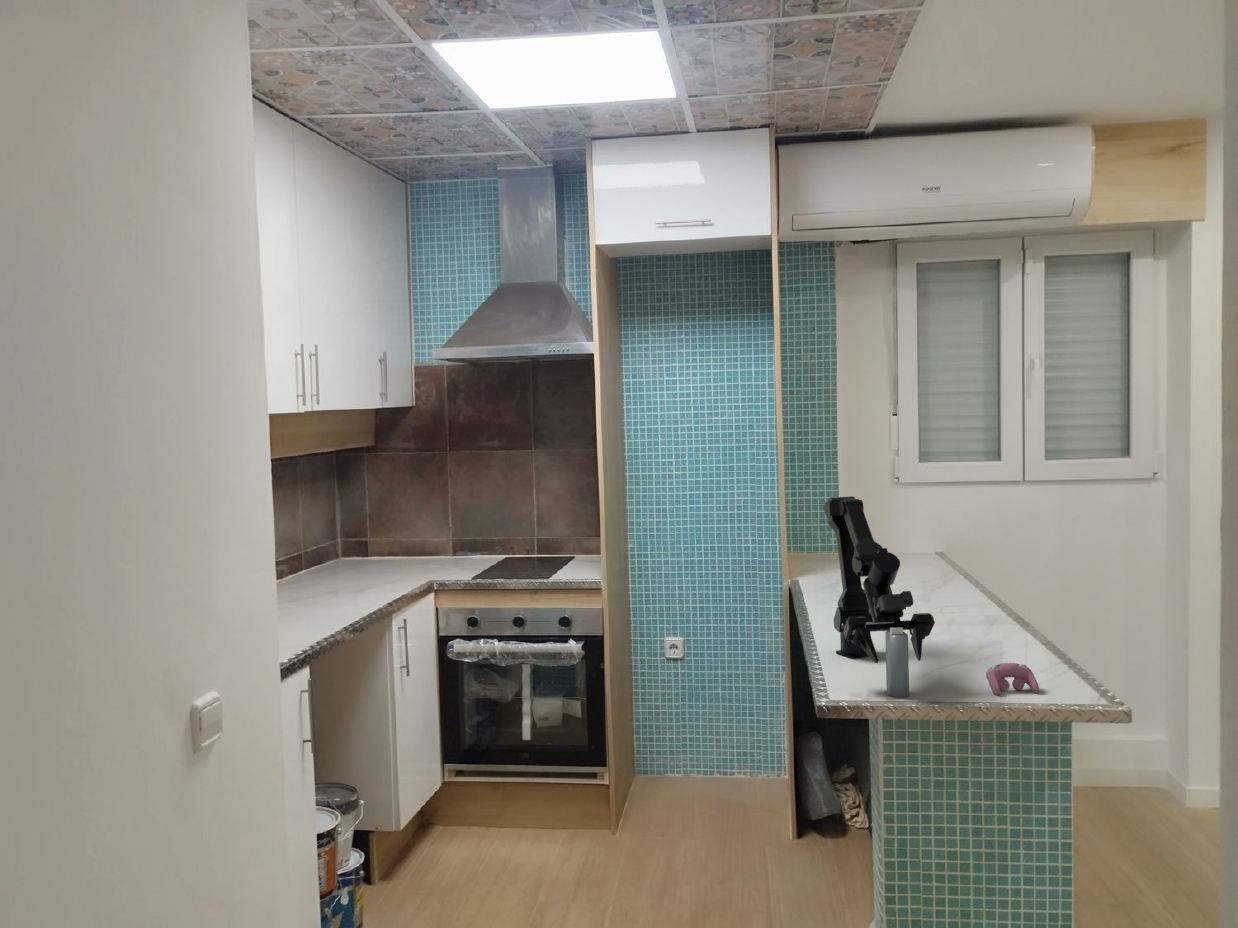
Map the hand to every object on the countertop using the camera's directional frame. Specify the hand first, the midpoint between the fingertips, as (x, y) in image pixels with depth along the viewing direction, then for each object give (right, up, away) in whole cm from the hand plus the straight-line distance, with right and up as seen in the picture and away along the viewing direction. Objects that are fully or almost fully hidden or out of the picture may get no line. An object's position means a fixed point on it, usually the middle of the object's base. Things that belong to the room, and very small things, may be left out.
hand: (898, 660), depth 214 cm
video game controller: (+24, -7, 0) cm, 25 cm away
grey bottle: (0, -7, +1) cm, 7 cm away
